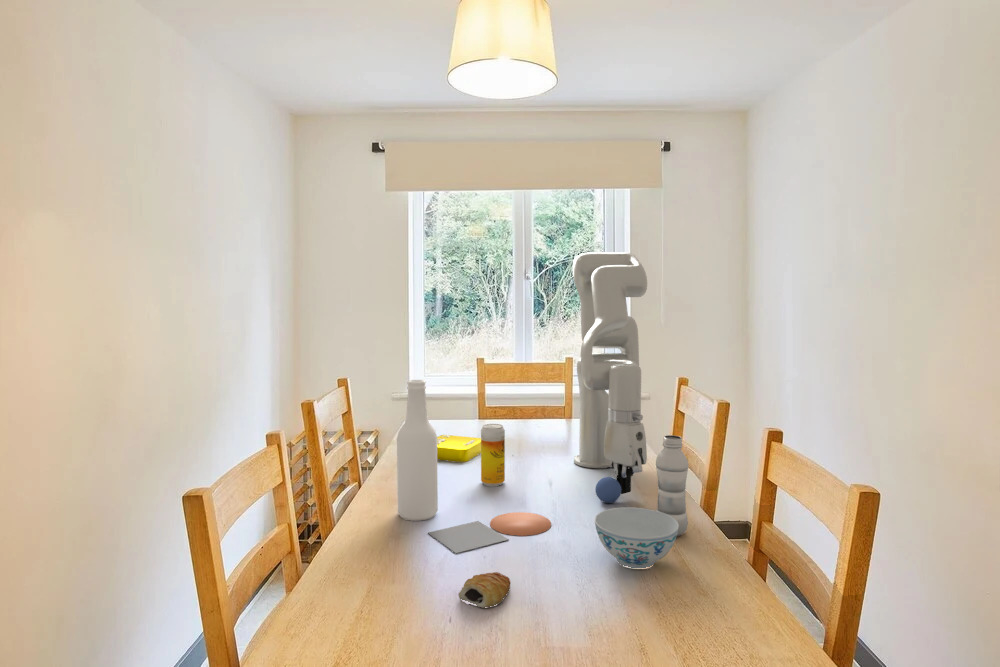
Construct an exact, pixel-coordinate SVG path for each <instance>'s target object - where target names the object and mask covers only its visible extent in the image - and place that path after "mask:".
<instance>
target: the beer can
mask: <svg viewBox="0 0 1000 667" xmlns="http://www.w3.org/2000/svg"><path fill="white" fill-rule="evenodd" d="M505 433H506V431H505V428H504V425H503V424H500V423H487V424H483V425H482V427H481V430H480V438H481V454H480V481H481V482H482V484H483V485H484V486H487V487H499V485H500V486H501V484H502V485H503V484H504V482H505V481H506V480H505V479H506V478H505V477H506V476H505V475H506V473H505V472H506V470H505V469H506V468H505V467H506V465H505V462H506V458H505V456H506V454H505V452H506V451H505V450H506V444H505V443H506V441H505V440H506V439H505V437H506V436H505Z"/></svg>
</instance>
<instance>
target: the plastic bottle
mask: <svg viewBox="0 0 1000 667" xmlns="http://www.w3.org/2000/svg"><path fill="white" fill-rule="evenodd" d="M662 440H663V443H662V446H663V449H662V450H661V451H660V452H659V454H658V455H657V456H656V460H655V466H656V474H657V487H658V489H657V490H658V493H657V502H656V503H657V504H656V510H655V511H658V512H662V513H664V514H667V515H669V516H671V517H672V518H674V519H675V520H676V521H677V522H678V524H679V529H678V533H677V537H678V536H682V534H683V535H684V534H685V533H686V531H687V530H688V525H689V520H688V518H689V517H688V513H687V507H686V504H687V503H686V490H687V489H686V487H687V485H686V484H687V478H688V472H689V460H688V458H687V457H686V455H685V453H684V452H683V450H682V448H683V437H682V436H679V435H674V434H672V435H671V434H667V435H663V439H662Z"/></svg>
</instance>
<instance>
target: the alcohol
mask: <svg viewBox="0 0 1000 667" xmlns="http://www.w3.org/2000/svg"><path fill="white" fill-rule="evenodd" d="M426 383H427V382H426V381H425V380H424V379H410V380H408V381H407V400H406V401H407V402H406V415H405V420H404V423H403V424H402V426H401V427H400V429H399V430H398V433H397V435H396V436H397V437H396V460H397V462H396V463H397V464H396V467H397V468H396V469H397V471H396V472H397V474H396V475H397V476H396V477H397V479H396V480H397V481H396V482H397V485H396V486H397V513H398V515H399V516H400V518H401V519H402V518H403V519H402V520H406V521H409V520H410V521H409V522H422V520H423V521H428V520H431V519H433V518H434V517H435V516H436V515H437V512H438V510H439V509H438V508H439V504H438V499H439V497H438V494H439V492H438V484H439V483H438V460H437V437H438V436H437V432H436V429H435V427H434V426H433V425H432V424H431V422H430V421H429V417H428V409H427V408H428V406H427V396H426V388H427V387H426Z"/></svg>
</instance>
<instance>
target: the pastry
mask: <svg viewBox="0 0 1000 667" xmlns="http://www.w3.org/2000/svg"><path fill="white" fill-rule="evenodd" d="M509 589H511V579H510V577H508V576H506V575H505V574H502V573H500V572H498V571H494V572H488V573H487V572H486V573H481V574H475V575H473V576H472V578H468V579H466V581H465V582H464V584H463V587H461V590H460V592H458V597H459V600H461V599H462V600H465V601H468V602H470V603H473V604H476V605H477V606H478V607H477V606H476V607H477V608H480V607H482V608H481V609H486V608H485V607H490V606H494V605H496V604H498V603H499V604H500V603H501V601H502V600H503V598H504V597H505V596H506V597H507V595H508V594H509V592H510V590H509ZM508 591H509V592H508ZM507 593H508V594H507ZM506 594H507V595H506ZM506 597H505V598H506ZM503 601H504V600H503ZM503 601H502V602H503ZM499 604H498V605H499Z"/></svg>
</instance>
